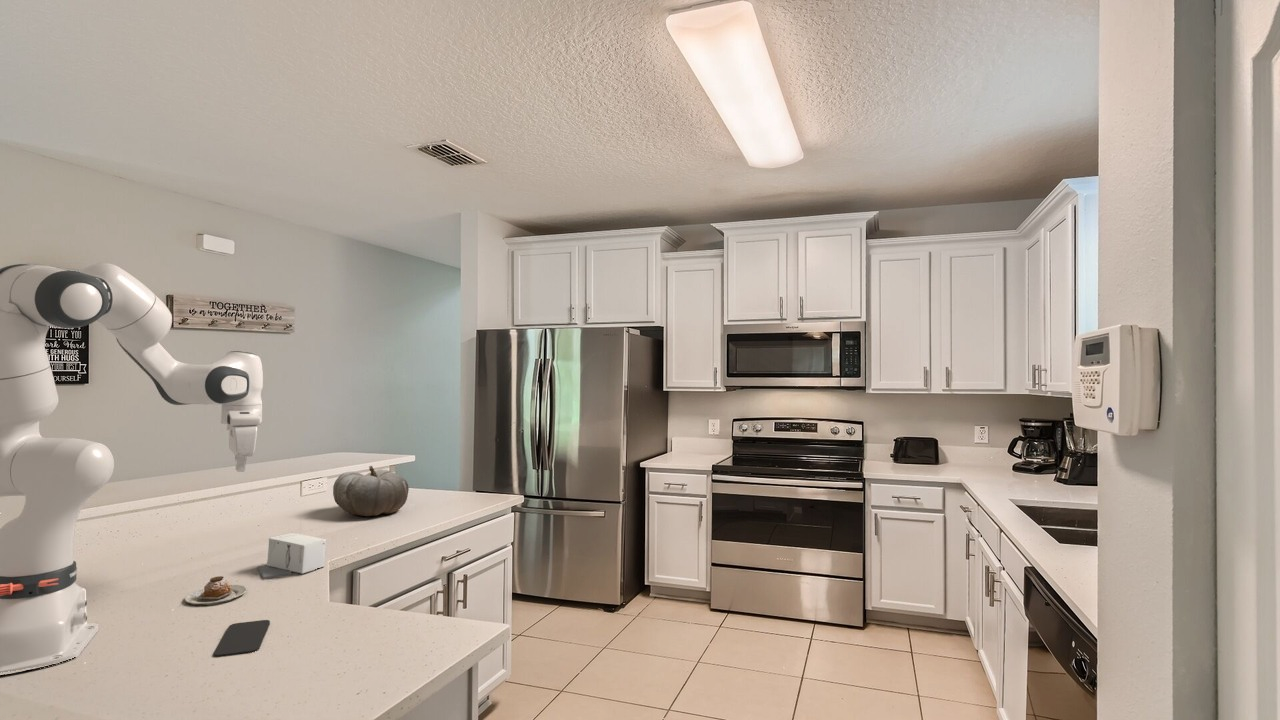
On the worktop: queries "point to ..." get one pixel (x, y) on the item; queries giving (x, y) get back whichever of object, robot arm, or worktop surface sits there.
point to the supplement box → (296, 552)
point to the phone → (242, 638)
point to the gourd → (370, 492)
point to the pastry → (215, 592)
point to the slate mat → (272, 572)
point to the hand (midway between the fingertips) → (240, 471)
